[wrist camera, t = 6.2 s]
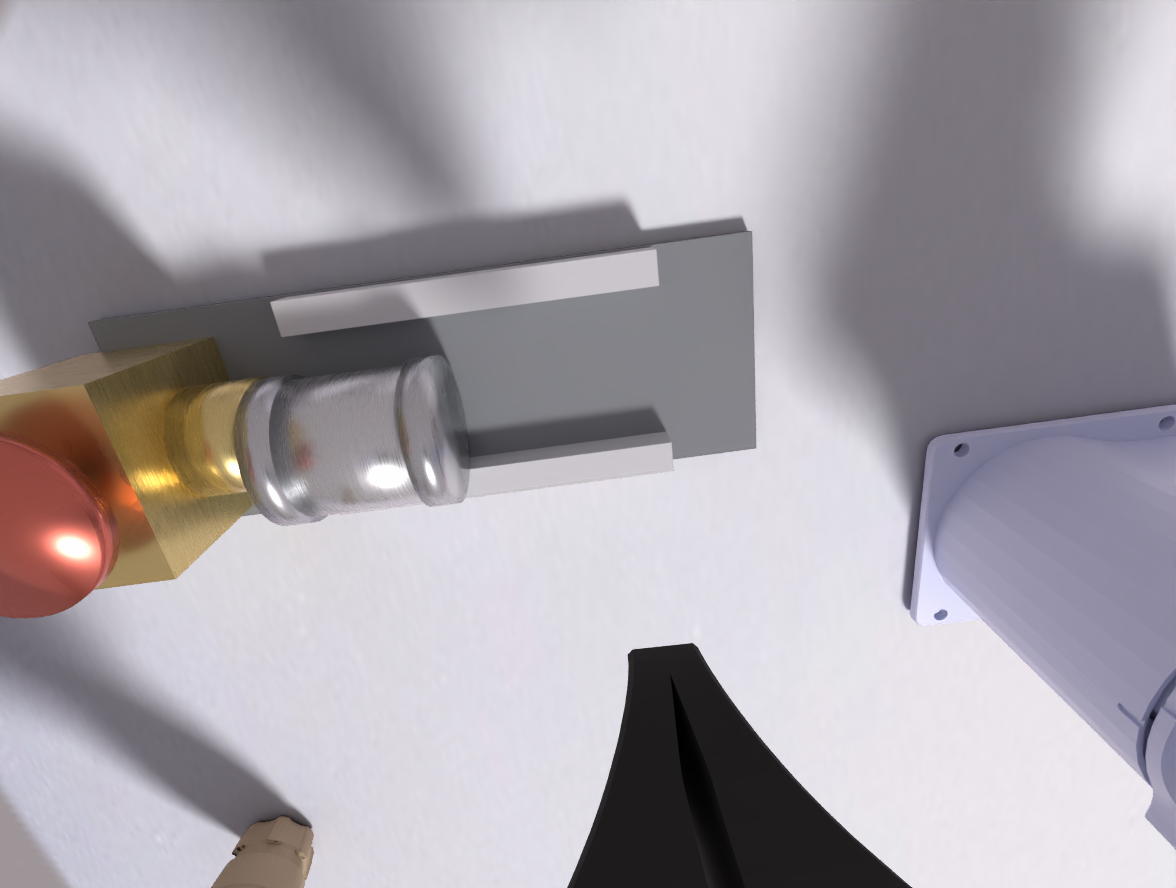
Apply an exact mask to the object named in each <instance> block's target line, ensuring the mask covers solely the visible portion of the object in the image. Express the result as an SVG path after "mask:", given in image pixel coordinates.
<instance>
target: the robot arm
mask: <svg viewBox="0 0 1176 888" xmlns="http://www.w3.org/2000/svg"><path fill="white" fill-rule="evenodd" d="M1163 418H1164V419H1163ZM1162 419H1163V421H1162V422H1161V420H1162ZM1160 422H1161V423H1160ZM1159 423H1160V424H1159ZM959 444H962V447H961V449H960V450H959V451H958V452H955V453H954V450H955V448H956V447H957V446H958V445H959ZM938 610H940V611H939V612H938V613H936V612H937V611H938ZM910 615H911V617H912V618H913V620H914V621H915V622H916V623H917V624H918V625H920V626H930V625H938V624H946V623H954V622H961V621H969V620H977V619H982V620H983V621H984V622H985V623H986V624H987V625H988V626H989V627H990V628H991V629H992V630H993V631H994V632H995V633H996V634H997V635H998V636H999V637H1000V638H1001V639H1002V640H1003V641H1004V642H1005V643H1006V644H1007V645H1008V646H1009V647H1010V648H1011V649H1012V650H1013V651H1014V652H1015V653H1016V654H1017V655H1018V656H1019V657H1020V658H1021V659H1022V660H1023V661H1024V662H1025V663H1026V664H1027V665H1028V666H1029V667H1030V668H1031V669H1032V670H1033V671H1034V672H1035V673H1036V674H1037V675H1038V676H1039V677H1040V678H1041V679H1042V680H1044V681H1045V682H1046V683H1047V684H1048V685H1049V686H1050V687H1051V688H1052V689H1053V690H1054V691H1055V692H1056V693H1057V694H1058V695H1059V696H1060V697H1061V698H1062V699H1063V700H1064V701H1065V702H1066V703H1067V704H1068V705H1069V706H1070V707H1071V708H1072V709H1073V710H1074V711H1075V712H1076V713H1077V714H1078V715H1079V716H1080V717H1081V718H1082V719H1083V720H1084V721H1085V722H1086V723H1087V724H1088V725H1089V726H1090V727H1091V728H1092V729H1093V730H1094V731H1095V732H1096V733H1097V734H1098V735H1099V736H1100V737H1101V738H1102V739H1103V740H1104V741H1105V742H1106V743H1107V744H1108V745H1109V746H1110V747H1111V748H1112V749H1113V750H1114V751H1115V752H1116V753H1117V754H1118V755H1119V756H1121V757H1122V758H1123V759H1124V760H1125V761H1126V762H1127V763H1128V764H1129V765H1130V766H1131V767H1132V768H1133V769H1134V770H1135V771H1136V772H1137V773H1138V774H1139V775H1140V776H1141V777H1142V778H1143V779H1144V780H1145V781H1146V782H1147V783H1148V784H1149V785H1150V786H1151V787H1152V788H1153V798H1152V801H1151V804H1150V806H1149V808H1148V810H1147V812H1146V814H1145V818H1146V819H1147V820H1148V821H1149V822H1150V823H1151V824H1152V825H1153V826H1154V827H1155V828H1156V829H1157V830H1158V831H1159V832H1160V833H1161V835H1162V836H1163V837H1164V838H1165V839H1166V840H1167V841H1168V842H1169V843H1170V844H1171V845H1172V846H1173V847H1174V848H1175V849H1176V404H1174V405H1166V406H1159V407H1151V408H1143V409H1136V410H1128V411H1121V412H1113V413H1106V414H1098V415H1090V416H1083V417H1075V418H1068V419H1060V420H1053V421H1045V422H1038V423H1030V424H1022V425H1015V426H1007V427H1000V428H992V429H985V430H977V431H969V432H962V433H954V434H947V435H941V436H938V437H936V438H935V439H933V440H932V441H931V442H930V444H929V445H928V448H927V453H926V463H925V472H924V482H923V492H922V502H921V511H920V521H919V531H918V541H917V550H916V560H915V570H914V580H913V589H912V599H911V609H910ZM628 663H629V670H628V687H627V695H626V702H625V708H624V713H623V718H622V724H621V729H620V734H619V738H618V743H617V747H616V750H615V754H614V758H613V762H612V765H611V769H610V773H609V777H608V780H607V783H606V787H605V790H604V793H603V796H602V799H601V802H600V805H599V808H598V811H597V814H596V817H595V820H594V823H593V825H592V828H591V831H590V834H589V836H588V839H587V841H586V844H585V846H584V849H583V851H582V854H581V856H580V859H579V861H578V864H577V866H576V869H575V871H574V874H573V876H572V878H571V881H570V883H569V885H568V887H567V888H912V887H911V886H909V885H908V884H907V883H906V882H905V881H903V880H902V879H901V878H900V877H899V876H898V875H897V874H895V873H894V872H893V871H892V870H891V869H890V868H889V867H887V866H886V865H885V864H884V863H883V862H882V861H881V860H879V859H878V858H877V857H876V856H875V855H874V854H873V853H871V852H870V851H869V850H868V849H867V848H866V847H865V846H863V845H862V844H861V843H860V842H859V841H858V840H857V839H855V838H854V837H853V836H852V835H851V834H850V833H849V832H848V831H847V830H846V829H845V828H844V827H843V826H842V825H841V824H840V823H839V822H838V821H836V820H835V819H834V818H833V817H832V816H831V815H830V814H829V813H828V812H827V811H826V810H825V809H824V808H823V807H822V806H821V805H820V804H819V803H818V802H817V801H816V800H815V799H814V798H813V797H812V796H811V795H810V794H809V793H808V792H807V790H806V789H805V788H804V787H803V786H802V785H801V784H800V783H799V782H798V781H797V780H796V779H795V778H794V777H793V775H792V774H791V773H790V772H789V771H788V770H787V769H786V768H785V767H784V765H783V764H782V763H781V762H780V761H779V760H778V758H777V757H776V756H775V755H774V754H773V753H772V751H771V750H770V749H769V748H768V747H767V746H766V744H765V743H764V742H763V741H762V739H761V738H760V737H759V736H758V735H757V733H756V732H755V731H754V730H753V728H752V727H751V726H750V724H749V723H748V722H747V720H746V719H745V718H744V717H743V715H742V714H741V713H740V711H739V710H738V709H737V707H736V706H735V705H734V703H733V702H732V701H731V699H730V698H729V696H728V695H727V694H726V692H725V691H724V689H723V688H722V686H721V685H720V683H719V682H718V680H717V679H716V677H715V676H714V674H713V673H712V671H711V669H710V668H709V666H708V665H707V663H706V661H705V660H704V658H703V656H702V654H701V652H700V651H699V649H698V647H697V646H695V645H694V644H693V643H689V644H680V645H671V646H661V647H652V648H643V649H634V650H632V651H631V652H630V653H629V654H628Z"/></svg>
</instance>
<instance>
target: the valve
mask: <svg viewBox="0 0 1176 888" xmlns="http://www.w3.org/2000/svg"><path fill="white" fill-rule="evenodd" d="M263 378H269V377H264V376H262V377H255V378H247V379H240V380H233V381H230V378H229V375H228V373H227V370H226V367H225V365H224V362H223V359H222V357H221V354H220V351H219V349H218V346H217V343H216V341H215V338H214V337H207V338H199V339H192V340H185V341H178V342H170V343H163V344H156V345H148V346H141V347H134V348H126V349H119V350H112V351H104V352H97V353H90V354H84V355H81V356H77V357H74V358H71V359H68V360H64V361H61V362H58V363H55V364H51V365H48V366H45V367H42V368H38V369H35V370H32V371H28V372H25V373H22V374H19V375H15V376H12V377H9V378H6V379H2V380H0V616H3V617H11V618H36V617H44V616H49V615H53V614H56V613H59V612H62V611H64V610H66V609H68V608H70V607H72V606H74V605H75V604H77V603H78V602H80V601H81V600H82V599H83V598H85V597H86V596H87V595H88V594H90V593H91V592H92V591H93V590H96V589H104V588H111V587H119V586H126V585H134V584H142V583H149V582H157V581H165V580H172V579H176V578H177V577H179V576H180V575H181V574H182V573H183V572H184V571H185V570H186V569H187V568H188V567H189V566H190V565H191V564H192V563H193V562H194V561H195V560H196V559H197V558H198V557H199V556H200V555H201V554H203V553H204V552H205V551H206V550H207V549H208V548H209V547H210V546H211V545H212V544H213V543H214V542H215V541H216V540H217V539H218V538H219V537H220V536H221V535H222V534H223V533H224V532H225V531H227V530H228V529H229V528H230V527H231V526H232V525H233V524H234V523H235V522H236V521H237V520H238V519H239V518H240V517H241V516H242V515H243V514H244V513H245V512H246V511H247V510H248V509H250V508H251V507H252V506H253V505H254V503H253V502H252V500H251V499H250V497H249V495H248V493H247V491H246V489H245V486H244V484H243V481H242V478H241V475H240V471H239V468H238V463H237V458H236V451H235V422H236V415H237V411H238V407H239V404H240V401H241V399H242V397H243V395H244V393H245V391H246V390H247V389H248V388H249V386H250V385H252V384H253V383H254V382H256V381H257V380H259V379H263Z"/></svg>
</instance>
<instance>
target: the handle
mask: <svg viewBox="0 0 1176 888" xmlns="http://www.w3.org/2000/svg"><path fill="white" fill-rule="evenodd" d="M312 840H313V832H312V830H311V829H310V828H309V827H305V826H301V825H299V824H297V823H295V822H293V821H292V820H291V819H290V818H289V817H284V816H280V817H278V818H277V819H275V820H272V821H268V822H257V823H255V824H253V825H251V826H250V827H249V828H248V829H247V831H246V832H245V833H244V835H243V836H242V838H241V839H240V841H239V842H238V844H237V845H236V847H235V849H234V850H233V852H232V854H233V855H235V856H236V858H234V859H232V860H231V861H230V862H229V863H228V864H227V865H226V866H225V868H224V869H223V871H222V872H221V874H220V875H219V877H218V878H217V879H216V881H215V882H214V884H213V886H212V887H211V888H304V885H305V880H306V879H307V876H308V873H309V870H310V866H311V863H312V858H313V853H314V851H313V848H312V847H311V844H312Z"/></svg>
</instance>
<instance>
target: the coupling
mask: <svg viewBox="0 0 1176 888" xmlns="http://www.w3.org/2000/svg"><path fill="white" fill-rule="evenodd" d="M235 451H236V458H237V463H238V468H239V471H240V475H241V478H242V481H243V484H244V486H245V489H246V491H247V493H248V495H249V497H250V499H251V500H252V502H253V503H254V505H255V506H256V508H257V509H258V510H259V511H260V513H261V514H263V515H264V516H265V517H266V518H267V519H268V520H270V521H271V522H273V523H275V524H278V525H282V526H289V525H297V524H304V523H312V522H317V521H321V520H322V519H324V518H325V517H327V516H328V515H333V514H340V513H348V512H356V511H363V510H371V509H379V508H386V507H394V506H401V505H409V504H417V503H424V504H425V505H427V506H430V507H434V506H442V505H449V504H457V503H461V502H463V501H464V499H465V497H466V494H467V491H468V485H469V476H470V453H469V440H468V431H467V424H466V418H465V413H464V408H463V403H462V399H461V395H460V392H459V388H458V385H457V382H456V379H455V376H454V374H453V372H452V369H451V367H450V366H449V364H448V362H447V361H446V359H445V358H444V357H442V356H441V355H434V356H427V357H419V358H412V359H408V360H407V361H405V363H404V364H403V365H400V366H392V367H385V368H377V369H370V370H363V371H355V372H348V373H340V374H333V375H325V376H318V377H310V378H305V377H303V376H300V375H285V376H277V377H270V378H263V379H259V380H257V381H256V382H254V383H253V384H252V385H250V386H249V388H248V389H247V390H246V391H245V393H244V395H243V397H242V399H241V401H240V404H239V407H238V411H237V415H236V422H235Z"/></svg>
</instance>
